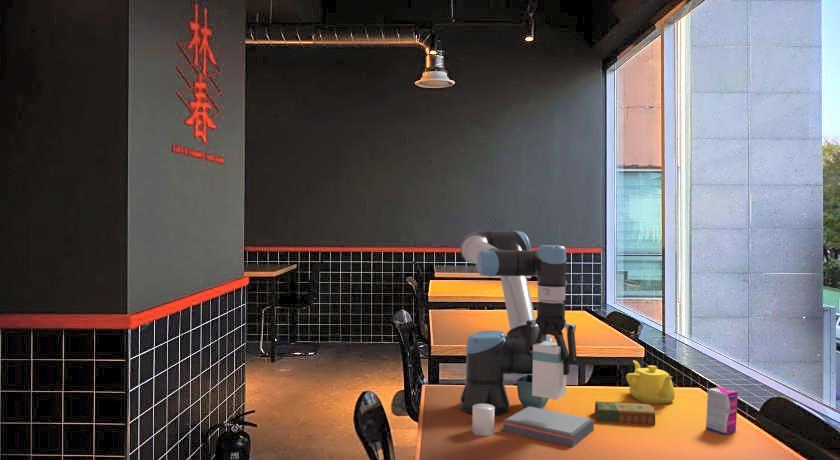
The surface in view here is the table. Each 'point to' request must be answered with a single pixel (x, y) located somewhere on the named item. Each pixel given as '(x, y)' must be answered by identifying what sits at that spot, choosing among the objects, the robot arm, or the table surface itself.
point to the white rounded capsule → (483, 419)
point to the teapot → (651, 385)
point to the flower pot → (529, 393)
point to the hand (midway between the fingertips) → (549, 383)
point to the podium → (549, 426)
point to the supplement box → (721, 410)
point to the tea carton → (547, 371)
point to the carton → (625, 413)
